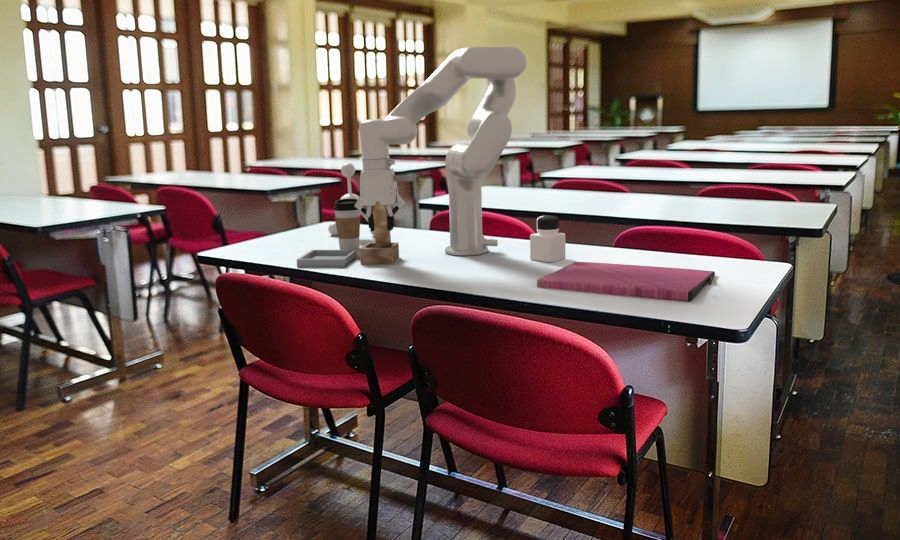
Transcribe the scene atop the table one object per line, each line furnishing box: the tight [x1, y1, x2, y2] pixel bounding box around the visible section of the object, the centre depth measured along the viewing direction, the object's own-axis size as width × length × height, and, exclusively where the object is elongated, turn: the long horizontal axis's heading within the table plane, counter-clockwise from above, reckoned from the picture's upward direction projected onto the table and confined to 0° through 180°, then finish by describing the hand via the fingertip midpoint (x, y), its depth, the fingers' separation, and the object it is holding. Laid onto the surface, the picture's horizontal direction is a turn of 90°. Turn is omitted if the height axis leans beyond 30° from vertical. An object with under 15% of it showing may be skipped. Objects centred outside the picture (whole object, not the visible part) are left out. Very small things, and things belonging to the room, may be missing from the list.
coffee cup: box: [333, 198, 361, 250], centre depth 236 cm, size 8×8×15 cm
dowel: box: [372, 201, 392, 248], centre depth 216 cm, size 4×4×14 cm
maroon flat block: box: [536, 261, 716, 303], centre depth 186 cm, size 40×4×27 cm
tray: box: [296, 249, 358, 268], centre depth 219 cm, size 14×14×2 cm
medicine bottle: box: [529, 215, 566, 263], centre depth 213 cm, size 7×7×12 cm
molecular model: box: [327, 162, 375, 237], centre depth 252 cm, size 18×20×25 cm
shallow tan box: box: [359, 241, 400, 265], centre depth 218 cm, size 9×9×4 cm
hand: (382, 229), depth 217 cm, fingers closed on dowel, 4 cm apart
